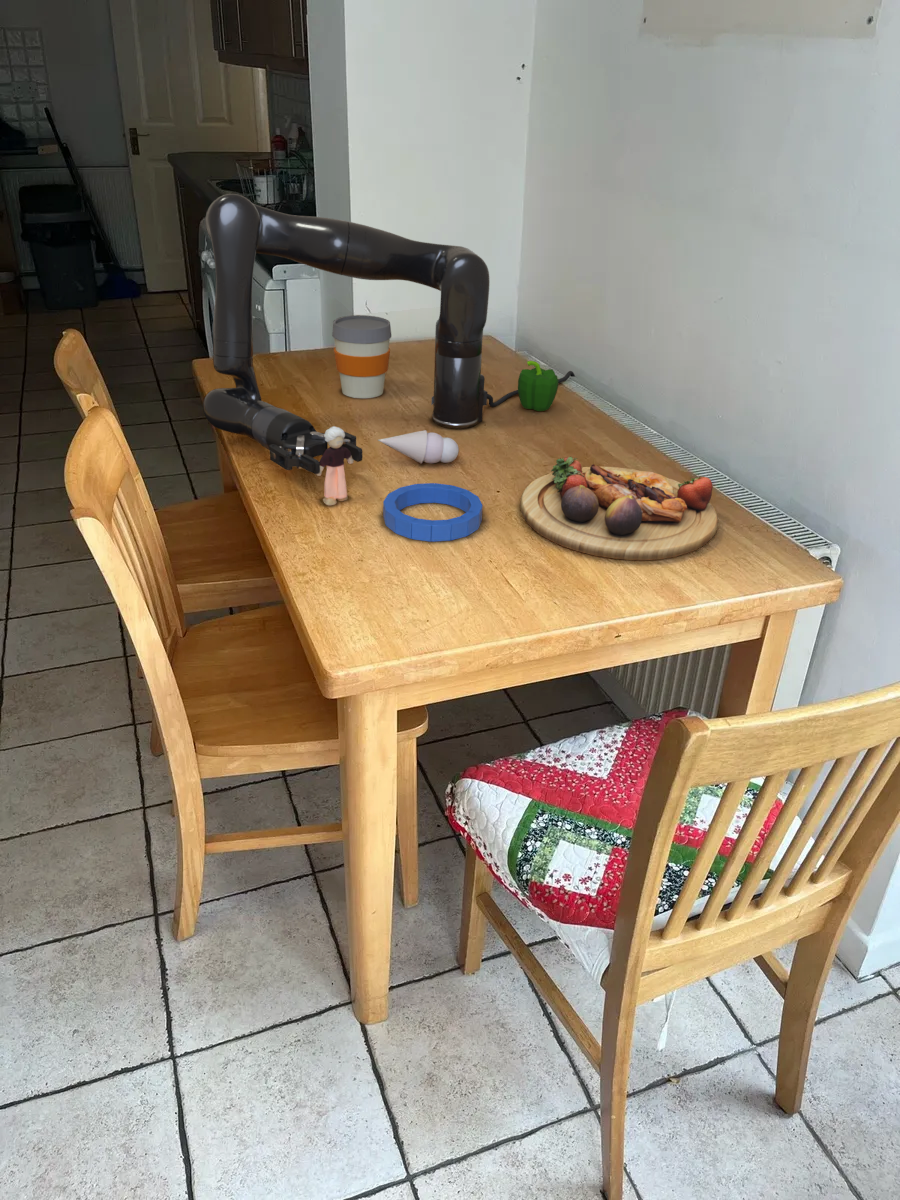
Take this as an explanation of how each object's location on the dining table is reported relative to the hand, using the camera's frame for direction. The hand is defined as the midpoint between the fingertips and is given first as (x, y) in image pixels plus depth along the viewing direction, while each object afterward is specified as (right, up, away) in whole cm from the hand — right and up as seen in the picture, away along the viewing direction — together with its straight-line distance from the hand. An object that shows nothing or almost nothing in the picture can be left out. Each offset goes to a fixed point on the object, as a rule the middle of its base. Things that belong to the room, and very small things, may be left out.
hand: (339, 461), depth 147 cm
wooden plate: (+45, -9, +2) cm, 46 cm away
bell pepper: (+36, +19, +47) cm, 62 cm away
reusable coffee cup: (-1, +23, +52) cm, 57 cm away
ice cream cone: (+12, +3, +19) cm, 23 cm away
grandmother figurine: (-1, -6, +4) cm, 7 cm away
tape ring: (+15, -9, -1) cm, 18 cm away
